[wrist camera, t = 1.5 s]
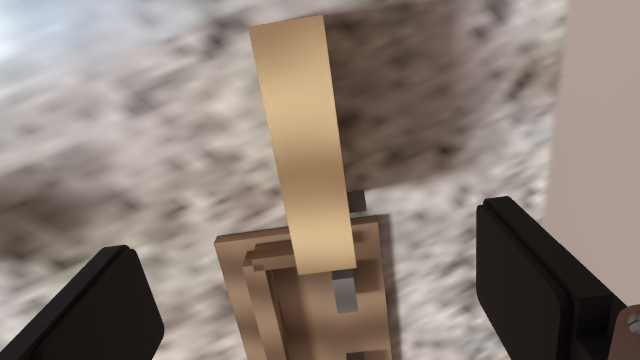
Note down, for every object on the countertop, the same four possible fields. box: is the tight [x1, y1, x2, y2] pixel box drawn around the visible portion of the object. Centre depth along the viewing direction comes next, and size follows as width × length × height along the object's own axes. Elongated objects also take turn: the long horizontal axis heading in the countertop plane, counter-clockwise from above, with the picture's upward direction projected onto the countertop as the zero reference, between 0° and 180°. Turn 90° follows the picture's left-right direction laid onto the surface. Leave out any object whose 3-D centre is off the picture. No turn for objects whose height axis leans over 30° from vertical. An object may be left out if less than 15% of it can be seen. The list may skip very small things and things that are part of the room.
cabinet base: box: [214, 216, 392, 360], centre depth 31 cm, size 18×12×3 cm, turn 8°
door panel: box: [248, 15, 366, 275], centre depth 22 cm, size 12×4×9 cm, turn 8°
